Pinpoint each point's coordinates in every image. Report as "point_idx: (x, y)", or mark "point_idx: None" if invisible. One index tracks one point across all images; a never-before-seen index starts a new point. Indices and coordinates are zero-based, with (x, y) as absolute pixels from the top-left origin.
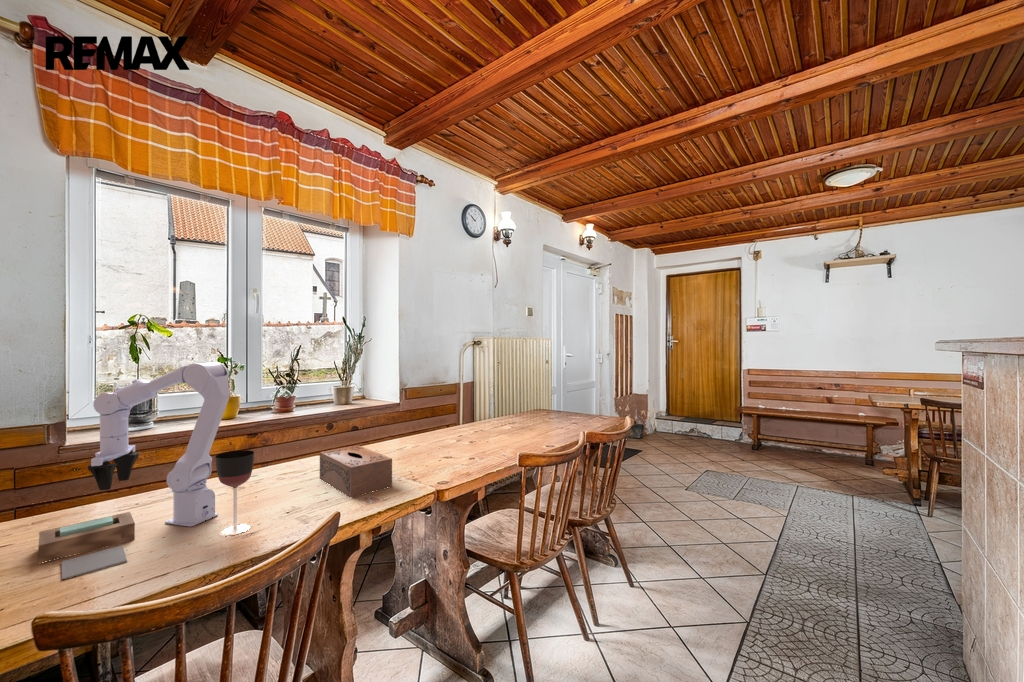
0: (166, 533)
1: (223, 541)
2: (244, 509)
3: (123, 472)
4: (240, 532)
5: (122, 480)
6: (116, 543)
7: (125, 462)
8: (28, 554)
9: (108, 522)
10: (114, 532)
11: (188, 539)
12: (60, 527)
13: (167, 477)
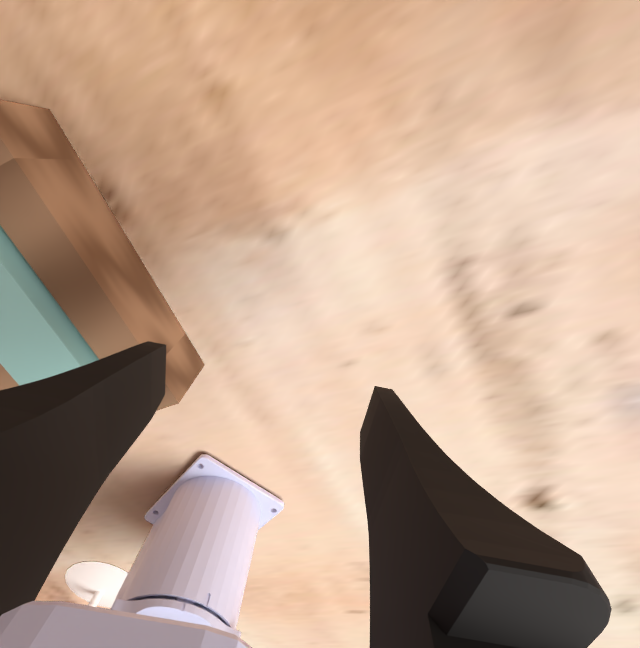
0: (117, 469)
1: None
2: (251, 594)
3: (375, 461)
4: (79, 595)
5: (369, 407)
6: None
7: (387, 573)
8: (3, 87)
9: (19, 381)
10: None
11: None
12: (21, 182)
13: None
